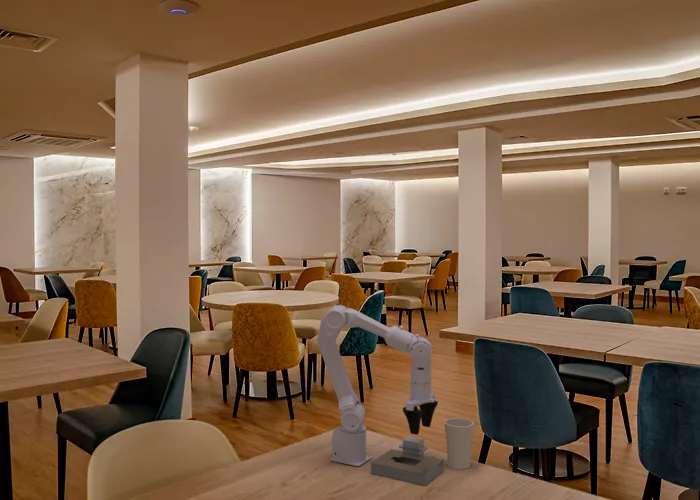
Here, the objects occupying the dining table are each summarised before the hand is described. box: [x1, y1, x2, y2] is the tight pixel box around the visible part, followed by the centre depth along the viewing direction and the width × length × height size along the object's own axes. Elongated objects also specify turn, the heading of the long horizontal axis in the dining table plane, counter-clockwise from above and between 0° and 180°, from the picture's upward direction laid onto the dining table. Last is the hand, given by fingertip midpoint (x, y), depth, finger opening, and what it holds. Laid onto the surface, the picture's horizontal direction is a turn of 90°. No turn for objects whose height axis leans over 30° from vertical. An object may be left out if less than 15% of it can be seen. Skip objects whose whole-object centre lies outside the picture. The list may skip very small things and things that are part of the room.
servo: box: [398, 436, 429, 456], centre depth 179 cm, size 8×3×6 cm, turn 59°
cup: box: [444, 417, 475, 470], centre depth 174 cm, size 8×8×12 cm
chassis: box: [370, 448, 445, 486], centre depth 169 cm, size 16×12×3 cm
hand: (420, 430), depth 175 cm, fingers open, 7 cm apart
